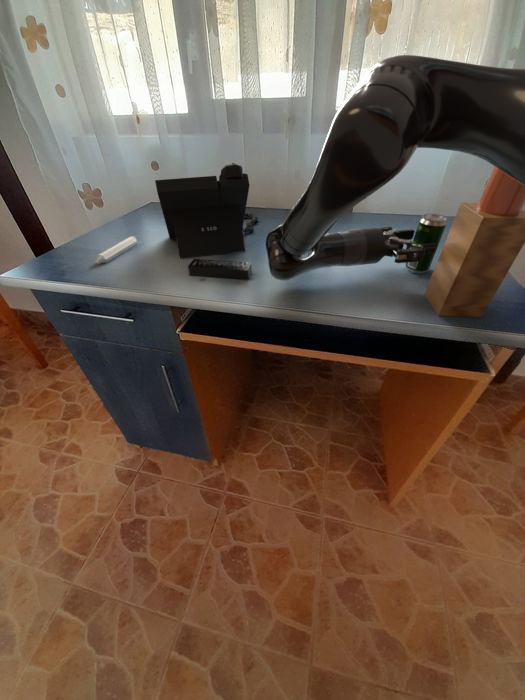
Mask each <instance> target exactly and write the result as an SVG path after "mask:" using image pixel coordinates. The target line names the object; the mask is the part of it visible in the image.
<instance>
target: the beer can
mask: <svg viewBox="0 0 525 700" xmlns="http://www.w3.org/2000/svg"><path fill="white" fill-rule="evenodd" d="M447 221H448V217H447V216H445V215H443V214H439V213H424V214H423V215H422V216H421V218H420V219H419V221H418V225H417V227H416V230H415V233H414V236H413V238H412V243H414V244H428V243H436V244H438V247H437V249H436V252H435V253H434V254H429V255H424V256H423V259H422V261H419V262H407V263H404V264H405V265H404V266H405V270H406V271H408V272H410V273H412V274H420V275H421V274H422V275H423V274H426V273H427V272H428V271H429V270H430V268H431V266H432V264H433V260H434V258H435V255H436V253H437V250H438V248H439V244H440V242H441V241H442V238H443V234H444V232H445V229H446V227H447V223H448V222H447ZM410 249H413V248H412V247H411V248H410Z"/></svg>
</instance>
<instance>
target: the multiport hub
mask: <svg viewBox="0 0 525 700" xmlns="http://www.w3.org/2000/svg"><path fill="white" fill-rule="evenodd" d="M187 269H188V275H189V276H191V277H202V278H203V277H204V278H218V279H231V280H243V281H247V280H250V277H251V275H252V272H253V263H252V262H250V261H249V262H248V261H233V260H232V261H231V260H219V259H205V258H193V259H192V260H191V261H190V262H189V264H188V265H187Z"/></svg>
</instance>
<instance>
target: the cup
mask: <svg viewBox="0 0 525 700" xmlns="http://www.w3.org/2000/svg"><path fill="white" fill-rule="evenodd" d="M477 203H478V204H477V206H476V208H477V209H478V210H480V211H482V212H485V213H489V214H494V215H502V216H514V215H518V214H519V213H520V212H521V210H523V208H524V206H525V187H523V186H522V185H520V184H519V183H518V182H516V181H515V180H513V179H512V178H511V177H509V176H508V175H506V174H505V173H504V172H502V171H501V170H499V169H498V168H497V167H495V166H494V165H493V167H492V170H491V172H490V174H489V177H488V179H487V181H486V184H485V186H484V188H483V190H482V192H481V195H480V197H479V199H478V202H477Z"/></svg>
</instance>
